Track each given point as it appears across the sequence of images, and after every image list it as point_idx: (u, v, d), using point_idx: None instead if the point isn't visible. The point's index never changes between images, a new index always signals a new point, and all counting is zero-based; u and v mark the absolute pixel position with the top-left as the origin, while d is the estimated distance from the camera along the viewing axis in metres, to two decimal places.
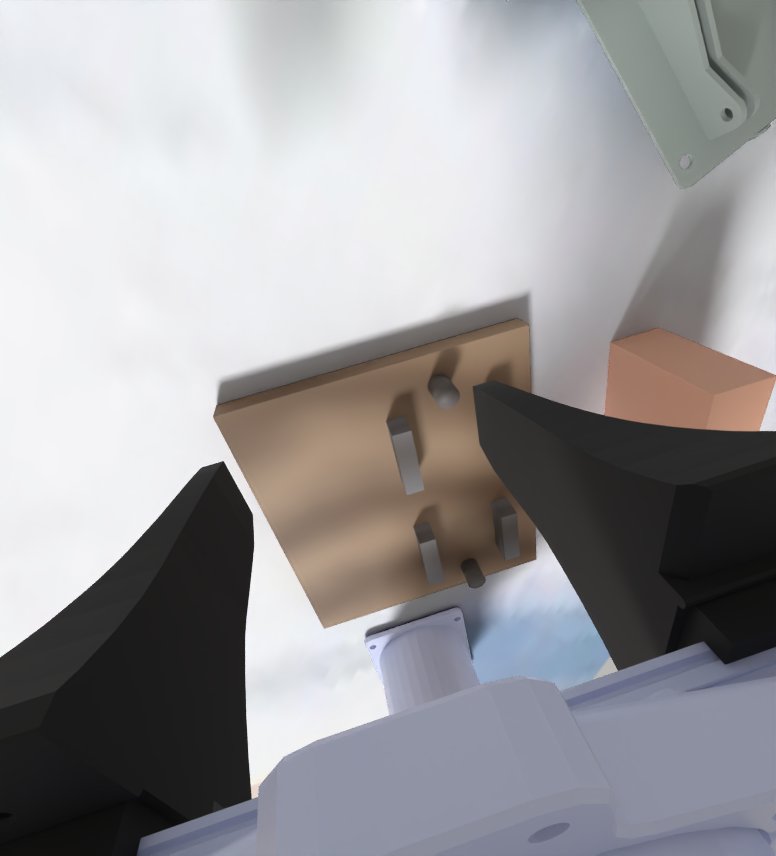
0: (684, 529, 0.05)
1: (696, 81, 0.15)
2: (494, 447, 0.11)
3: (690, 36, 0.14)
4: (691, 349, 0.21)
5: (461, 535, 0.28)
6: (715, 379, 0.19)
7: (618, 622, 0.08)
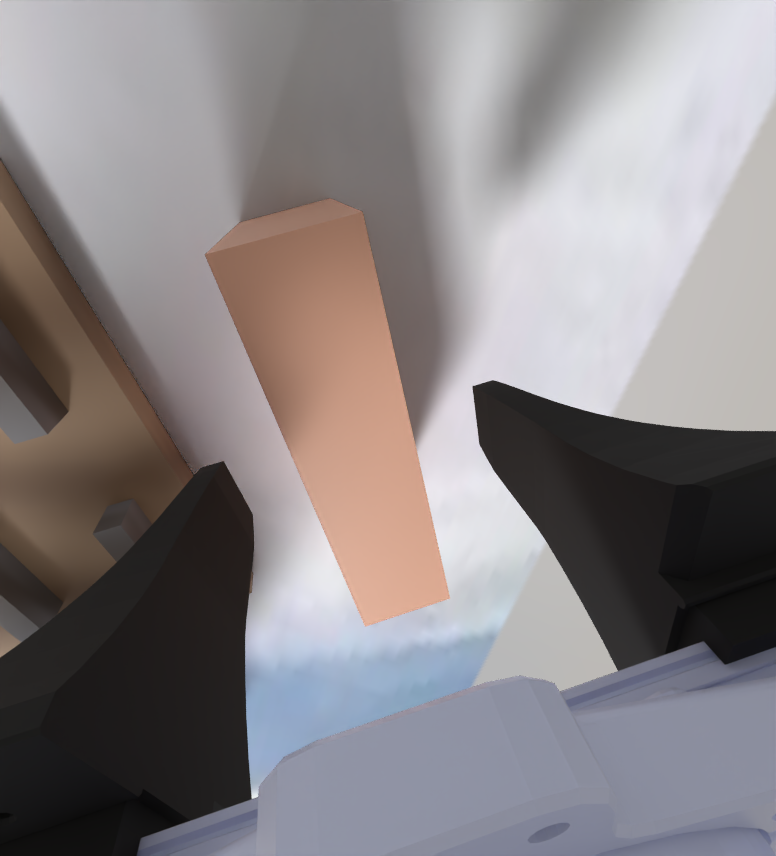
0: (683, 529, 0.05)
1: None
2: (494, 447, 0.11)
3: None
4: (315, 208, 0.11)
5: (82, 560, 0.17)
6: (262, 233, 0.09)
7: (618, 622, 0.08)
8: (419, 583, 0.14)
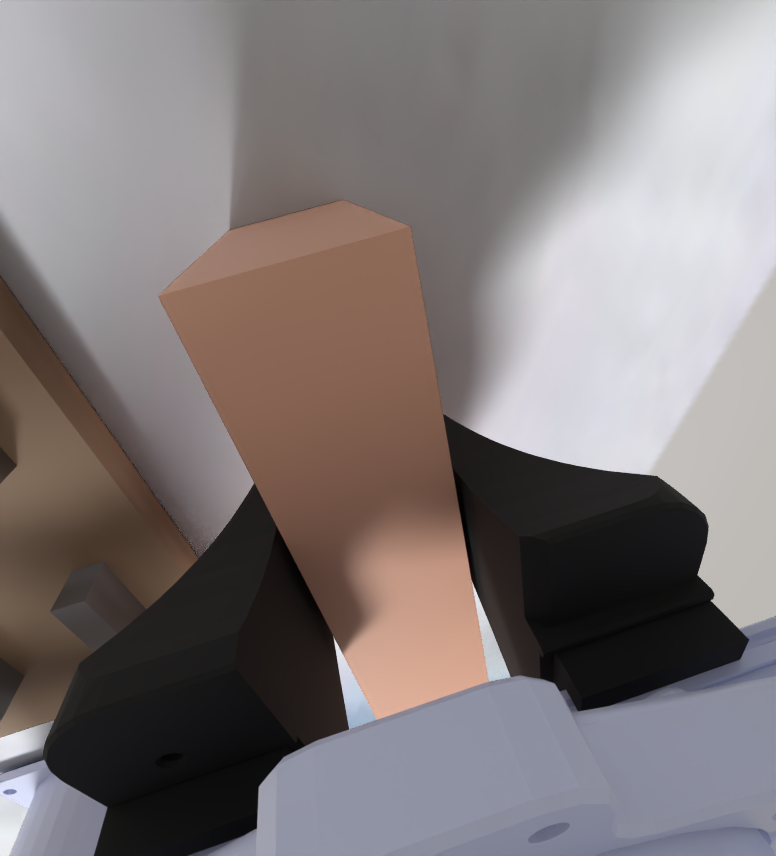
0: (535, 579, 0.05)
1: None
2: None
3: None
4: (327, 215, 0.08)
5: (45, 630, 0.14)
6: (252, 257, 0.06)
7: (514, 658, 0.08)
8: (456, 690, 0.11)
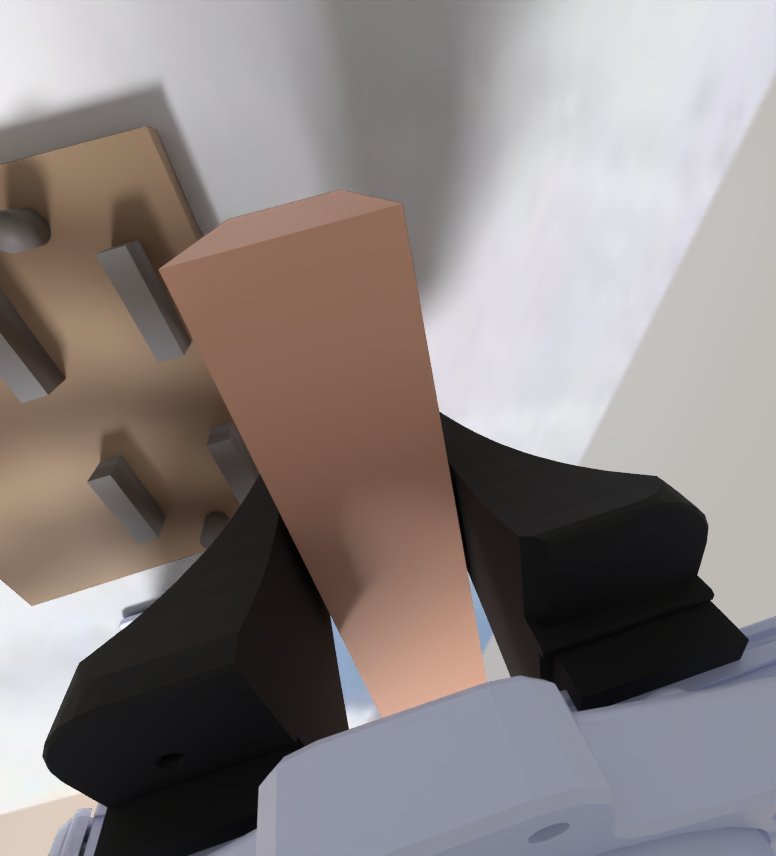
0: (535, 578, 0.05)
1: None
2: None
3: None
4: (324, 202, 0.08)
5: (186, 477, 0.20)
6: (249, 236, 0.06)
7: (513, 658, 0.08)
8: (451, 671, 0.11)
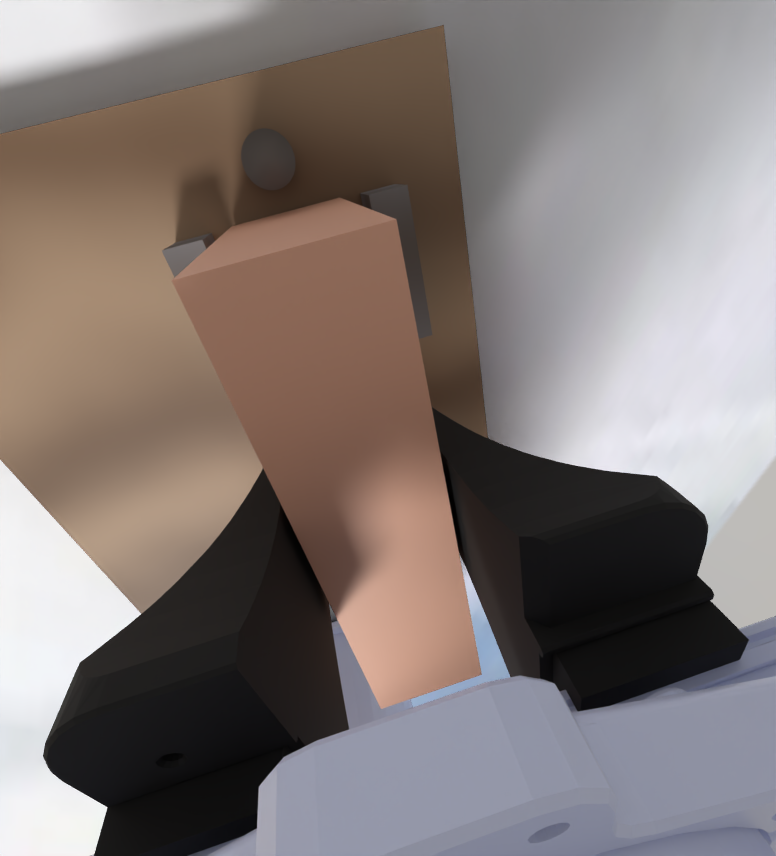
0: (535, 579, 0.05)
1: None
2: None
3: None
4: (324, 212, 0.09)
5: None
6: (255, 247, 0.06)
7: (513, 658, 0.08)
8: (447, 661, 0.11)
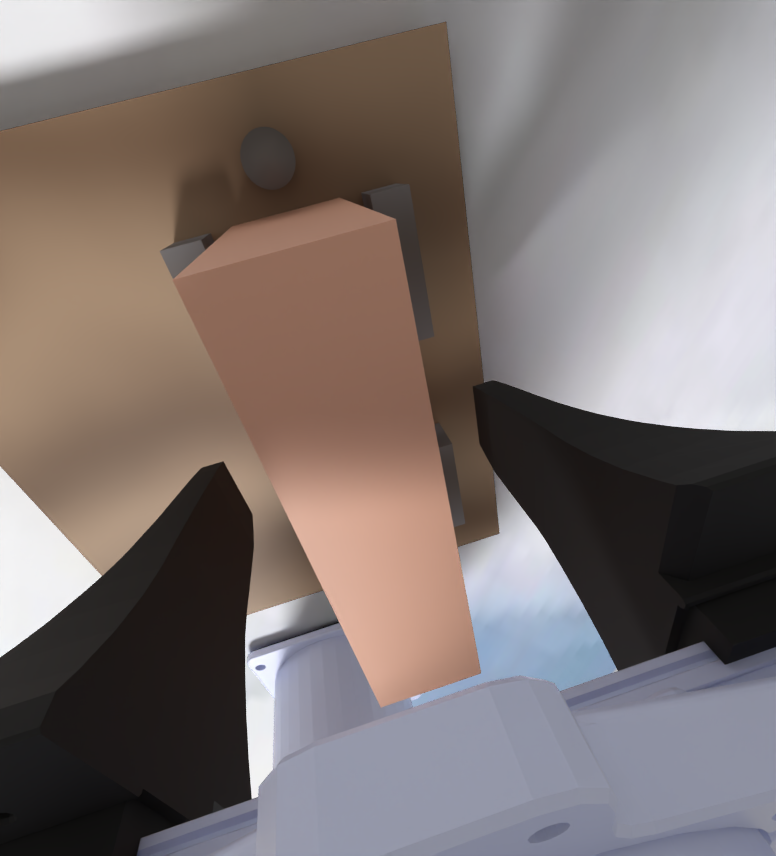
0: (683, 529, 0.05)
1: None
2: (494, 447, 0.11)
3: None
4: (324, 212, 0.09)
5: None
6: (255, 247, 0.06)
7: (618, 622, 0.08)
8: (446, 660, 0.11)
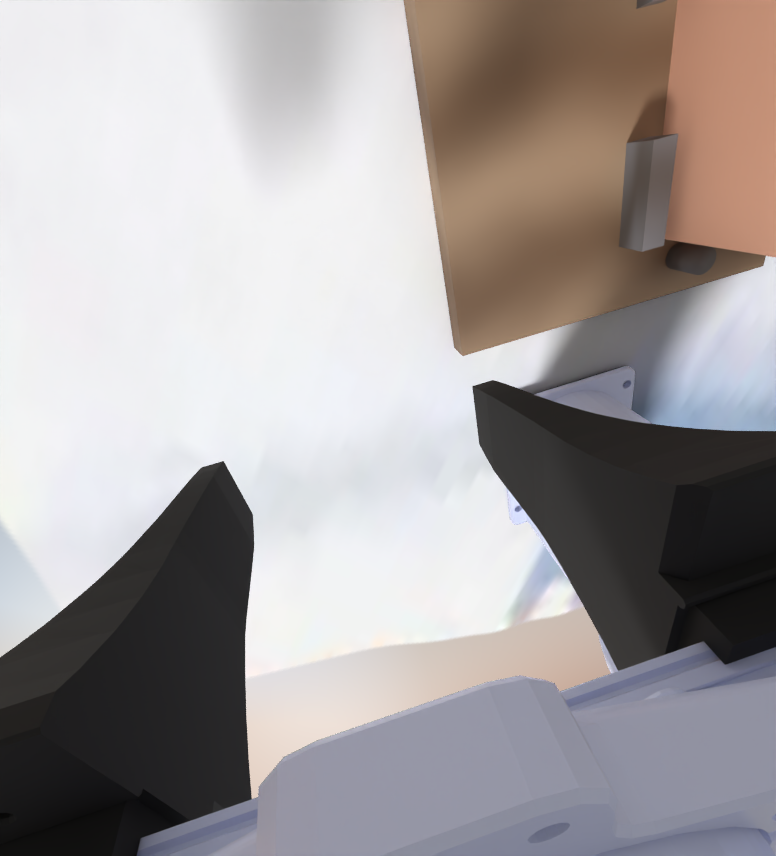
0: (684, 529, 0.05)
1: None
2: (494, 447, 0.11)
3: None
4: None
5: None
6: None
7: (618, 622, 0.08)
8: None
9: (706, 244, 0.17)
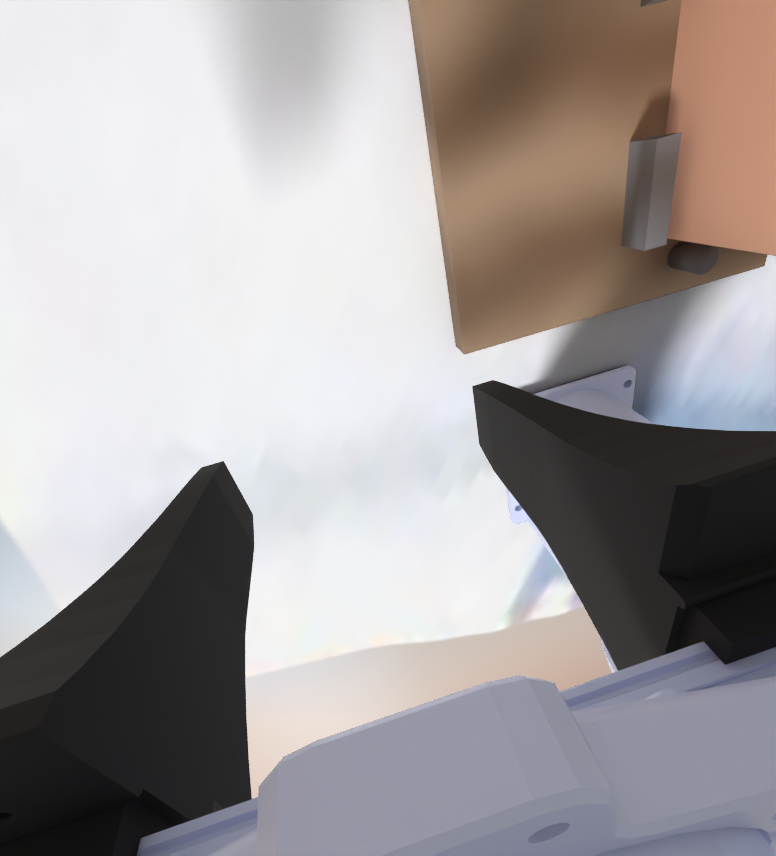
0: (683, 529, 0.05)
1: None
2: (494, 447, 0.11)
3: None
4: None
5: None
6: None
7: (618, 622, 0.08)
8: None
9: (709, 243, 0.17)
